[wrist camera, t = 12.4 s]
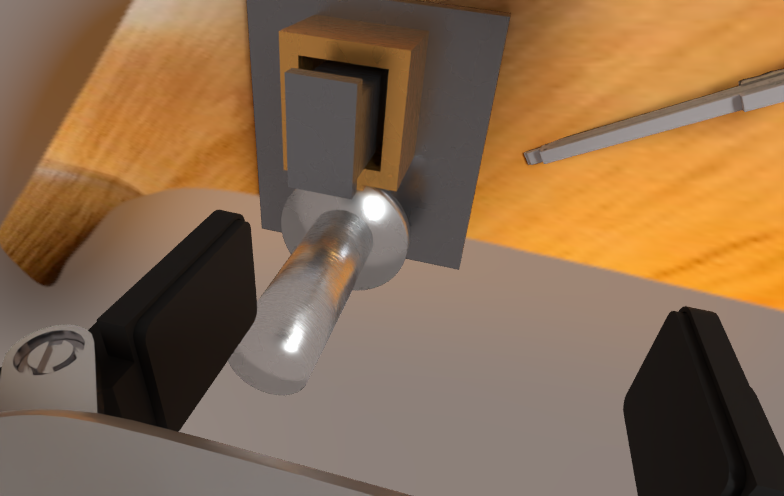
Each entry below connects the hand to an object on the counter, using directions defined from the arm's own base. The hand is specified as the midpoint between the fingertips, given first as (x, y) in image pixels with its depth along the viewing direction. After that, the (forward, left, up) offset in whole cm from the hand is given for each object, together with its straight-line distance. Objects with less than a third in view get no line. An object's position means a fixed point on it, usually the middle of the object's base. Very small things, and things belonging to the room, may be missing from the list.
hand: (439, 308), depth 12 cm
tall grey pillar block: (+4, -9, -27) cm, 29 cm away
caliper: (+2, +12, -29) cm, 31 cm away
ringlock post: (+8, -9, -28) cm, 31 cm away
